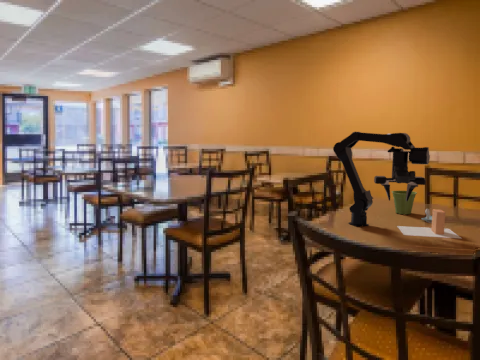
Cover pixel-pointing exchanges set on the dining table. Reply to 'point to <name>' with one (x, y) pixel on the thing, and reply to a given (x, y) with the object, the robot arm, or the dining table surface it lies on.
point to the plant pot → (403, 202)
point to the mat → (426, 232)
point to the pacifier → (427, 216)
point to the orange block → (438, 221)
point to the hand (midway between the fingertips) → (398, 200)
